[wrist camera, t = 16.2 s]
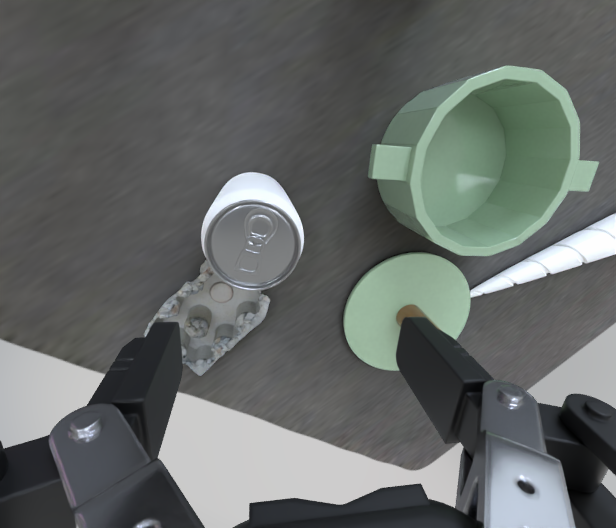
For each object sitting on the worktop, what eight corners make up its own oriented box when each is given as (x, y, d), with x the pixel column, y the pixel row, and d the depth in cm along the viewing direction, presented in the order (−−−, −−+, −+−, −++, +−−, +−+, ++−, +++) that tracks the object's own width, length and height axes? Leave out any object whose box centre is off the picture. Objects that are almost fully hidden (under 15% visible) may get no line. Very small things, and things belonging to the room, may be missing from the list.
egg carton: (220, 243, 31) (216, 257, 27) (275, 292, 34) (278, 312, 30) (144, 315, 32) (130, 339, 28) (203, 358, 35) (197, 384, 31)
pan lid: (349, 248, 33) (369, 271, 28) (479, 251, 36) (521, 272, 30) (335, 367, 38) (349, 406, 33) (448, 362, 41) (480, 398, 35)
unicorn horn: (452, 267, 36) (481, 286, 31) (651, 185, 36) (707, 192, 32) (460, 302, 38) (487, 324, 33) (648, 224, 38) (701, 235, 33)
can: (298, 184, 30) (323, 212, 19) (276, 248, 32) (288, 308, 21) (228, 160, 28) (211, 175, 17) (209, 229, 30) (184, 282, 19)
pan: (357, 72, 28) (393, 50, 21) (551, 94, 31) (638, 82, 24) (340, 229, 32) (364, 254, 25) (510, 234, 35) (572, 257, 29)
